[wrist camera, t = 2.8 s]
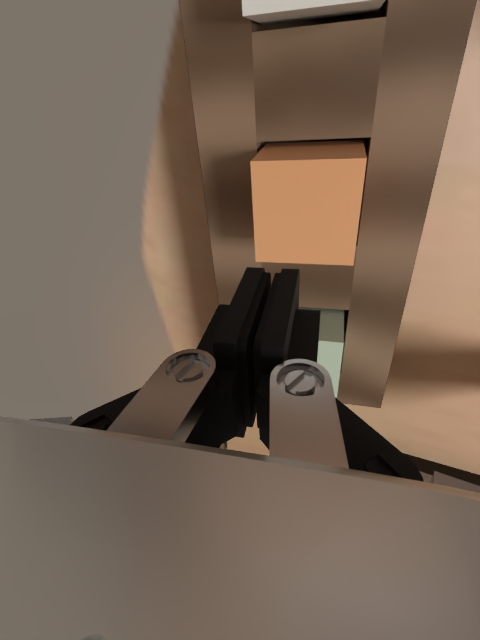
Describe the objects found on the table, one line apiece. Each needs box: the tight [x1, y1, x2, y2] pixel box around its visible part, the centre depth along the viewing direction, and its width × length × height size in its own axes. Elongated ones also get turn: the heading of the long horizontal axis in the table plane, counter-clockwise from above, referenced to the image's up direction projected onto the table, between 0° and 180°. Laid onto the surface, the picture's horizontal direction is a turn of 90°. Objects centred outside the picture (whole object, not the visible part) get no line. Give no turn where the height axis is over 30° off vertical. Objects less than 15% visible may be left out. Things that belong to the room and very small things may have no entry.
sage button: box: [299, 307, 344, 398], centre depth 24 cm, size 5×5×4 cm
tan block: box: [250, 140, 367, 266], centre depth 18 cm, size 5×5×4 cm
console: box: [179, 0, 477, 408], centre depth 21 cm, size 32×12×4 cm, turn 4°
